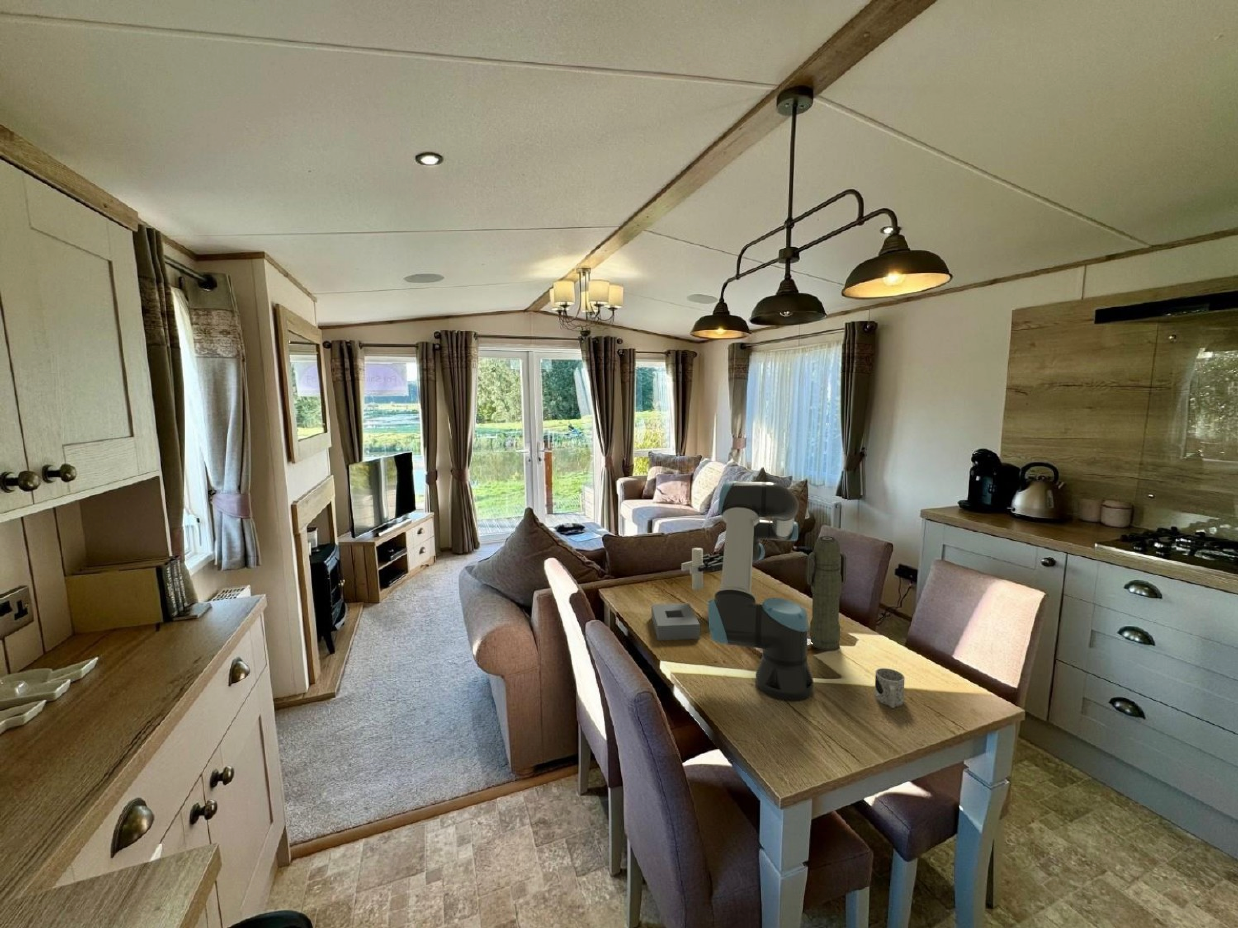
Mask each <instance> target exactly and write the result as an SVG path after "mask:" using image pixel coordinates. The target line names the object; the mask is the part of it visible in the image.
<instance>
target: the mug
mask: <svg viewBox="0 0 1238 928" xmlns="http://www.w3.org/2000/svg"><path fill="white" fill-rule="evenodd" d="M904 695H905V676H904V675H903V673H901V672H900V671H898V670H895V669H892V668H888V667H887V668H886V667H880V668H878V669H876V670H875V681H874V697H875V699H876V701H878V702H879V703H880V704H883V705H886V706H889V707H890V708H892V709H895V708H896V707H901V706H903V704H904Z"/></svg>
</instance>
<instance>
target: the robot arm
mask: <svg viewBox="0 0 1238 928" xmlns="http://www.w3.org/2000/svg"><path fill="white" fill-rule="evenodd" d="M717 507H718V514H719V516H722V520H723V522H724V523H726V524H725V525H726V526H725V537H724V549H722V550H721V551H720V552H718V554H714V555H711V554H710V553H706V554H703V564H699V565H695V566H692V560H690V561H686V562H683V563H681V565H680V566H681V572H685V571H689V575H692V574H695V573H699V572H703V573H704V572H710V573H715V572H719V571H721V581H720V589H718V590H717V591H715V593H714V598H711V599H709V600H708V604H707V613H708V617H707V618H708V628H709V635H710V638H711V640H712V641H713V642H714V643H717V644H718V643H719V644H723V645H726V646H738V647H744V648H745V647H746V648H754V649H755V648H756V649H762V655H761V656H762V657H761V658H760V660H759V664H758V666H757V669H756V672H755V685H756V687H757V688H758V690H760V691H761V692H762V693H764V694H765V695H766V696H768V697H771V698H774V699H776V700H781V701H788V702H797V701H798V702H799V701H802V700H806V699H808V698H809V697H811V696H812V695H813V693H814V679H813V677H812V673H811V670H810V667H809V663H808V631H809V629H810V626H809V624H808V621H809V620H808V619H809V618H808V613H807V612H806V610H805V609H804V608H803V607H802V606H801V605H800V604H798V603H796V602H794V601H791V600H788V599H785V598H781V597H779V598H778V597H772V598H770V597H768V598H766V599H765V598H764V600H763V602H762V604H760V603H756V602H757V601H756V600H757V599H756V597H755V596H754V595H753V594H752V592H751V590H752V570H753V563H756V562H759V561H761V560H762V559H764V558H765V554H766V550H765V547H764V545H763V544H762V543H760V540H769V541H784V542H785V541H786V542H796V541H797V540H799V524H798V522H797V521H795V518H796V516H797V515H798V512H799V508H800V505H799V500H798V499H797V496H796V495H795V494H794V492H793V491H791V490H790V489H789V488H787V487H786V486H784V485H782V484H780V483H777V482H772V481H739V480H735V481H734V480H733V481H729V480H728V481H725V482H724V484H723V485H722V486H721V489H720V493H719V498H718V506H717ZM761 518H764V520H763V519H761ZM765 518H766V519H767V518H770V519H771V520H765Z"/></svg>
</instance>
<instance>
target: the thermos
mask: <svg viewBox="0 0 1238 928" xmlns="http://www.w3.org/2000/svg"><path fill="white" fill-rule="evenodd" d="M813 547H814V548H813V551H812V552H810V553H808V555H807V559H806V560H807V565H806V567H807V568H806V580H807V581H806V582H807V585H808V586H811V587H810V588H811V593H812V601H811V602H812V603H811V605H812V606H811V607H812V608H811V611H812V613H811V620H810V623H809V636H810V640H811V642H812V643H813V646H812V647H814V648H815V649H819V650H821V651H825V652H827V651H828V652H832V651H836V650H838V649H839V648H840V640H841V624H840V621H839V620H840V619H839V618H840V596H841V594H842V586H843V585H844V584H846V580H847V579H846V577H847V576H846V575H847V556H846V555H845V554H844V553H843V552H842V551H841V546H840V543H839V540H838V539H837V538H836V537H833V536H827V535H824V536H819V537H817V539H816V540H815V543H814V546H813ZM813 562H814V563H813Z"/></svg>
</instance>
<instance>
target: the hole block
mask: <svg viewBox="0 0 1238 928" xmlns="http://www.w3.org/2000/svg"><path fill="white" fill-rule="evenodd" d="M650 608H651V620H652V623H653V628H654V631H655V634H656V635H655V636H656V638H657V641H672V640H673V641H674V640H676V641H677V640H695V639H697V640H698V639H700V636H701V633H700V631H701V630H700V629H701V628H700V626H701V625H700V622H699V620H698V618H697V616H696V614H695V612H694V610H693V608H692V606H691V604H690V602H684V603H662V604H661V603H660V604H651V606H650Z"/></svg>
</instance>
